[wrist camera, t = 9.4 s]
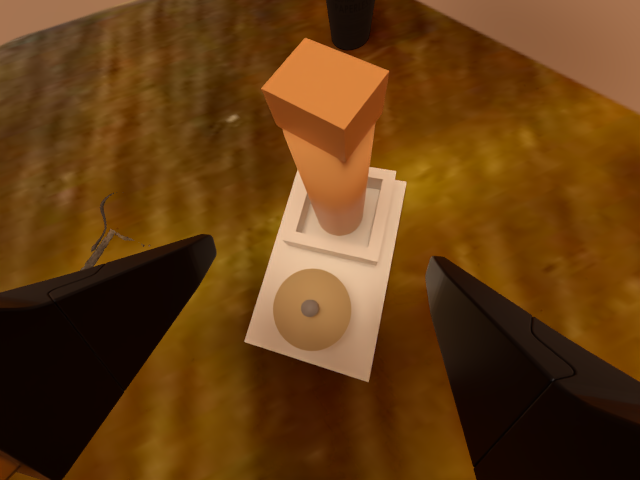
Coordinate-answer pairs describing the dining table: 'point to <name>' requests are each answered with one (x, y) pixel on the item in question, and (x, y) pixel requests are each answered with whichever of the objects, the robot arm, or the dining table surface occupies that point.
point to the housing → (329, 281)
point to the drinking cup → (350, 22)
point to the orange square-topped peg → (329, 127)
